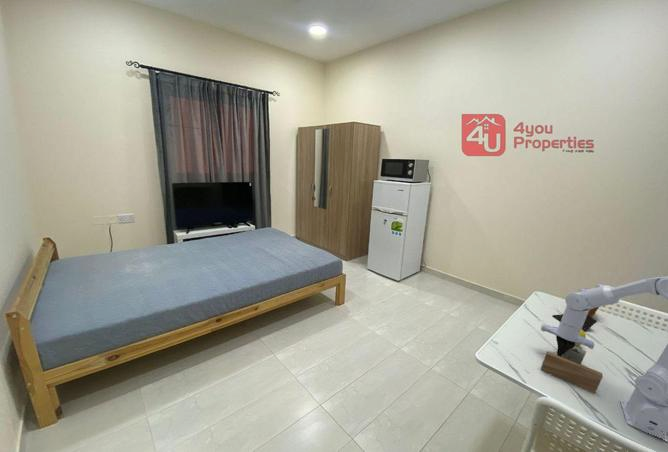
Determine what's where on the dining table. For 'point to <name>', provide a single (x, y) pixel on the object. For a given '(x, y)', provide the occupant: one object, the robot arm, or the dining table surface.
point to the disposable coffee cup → (591, 311)
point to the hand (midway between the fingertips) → (559, 354)
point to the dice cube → (575, 355)
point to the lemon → (581, 335)
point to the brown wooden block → (571, 372)
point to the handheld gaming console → (588, 323)
